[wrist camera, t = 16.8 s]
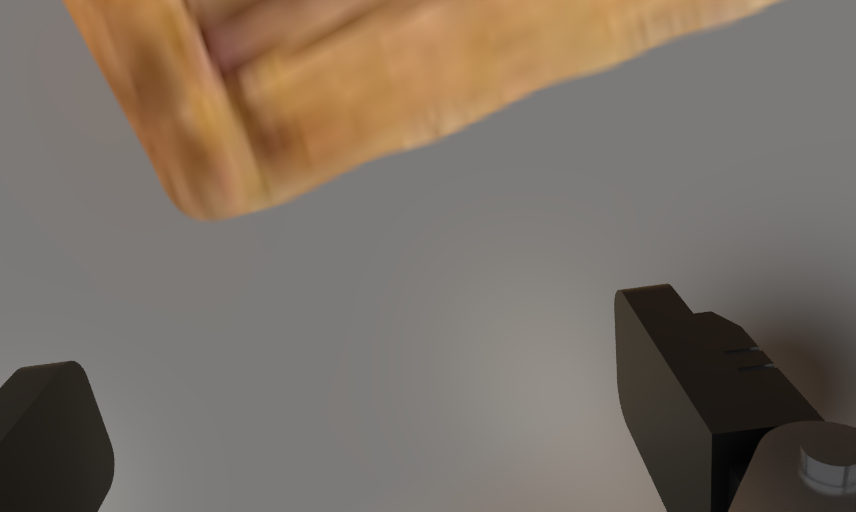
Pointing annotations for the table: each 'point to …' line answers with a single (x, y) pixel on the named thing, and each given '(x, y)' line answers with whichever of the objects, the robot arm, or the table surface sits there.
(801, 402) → the robot arm
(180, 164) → the table surface
